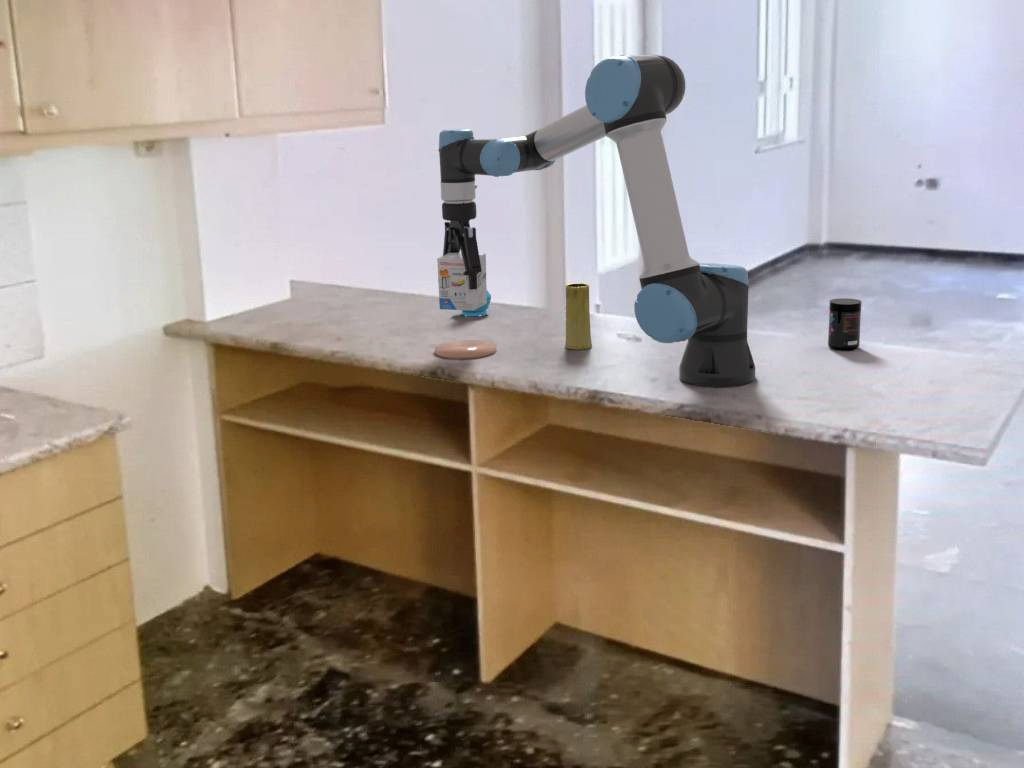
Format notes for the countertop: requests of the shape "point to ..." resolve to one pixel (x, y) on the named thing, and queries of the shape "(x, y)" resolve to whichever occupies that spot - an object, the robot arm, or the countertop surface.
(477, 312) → the perfume bottle
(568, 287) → the vase
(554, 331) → the countertop surface
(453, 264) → the ink box
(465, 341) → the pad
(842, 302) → the supplement container
